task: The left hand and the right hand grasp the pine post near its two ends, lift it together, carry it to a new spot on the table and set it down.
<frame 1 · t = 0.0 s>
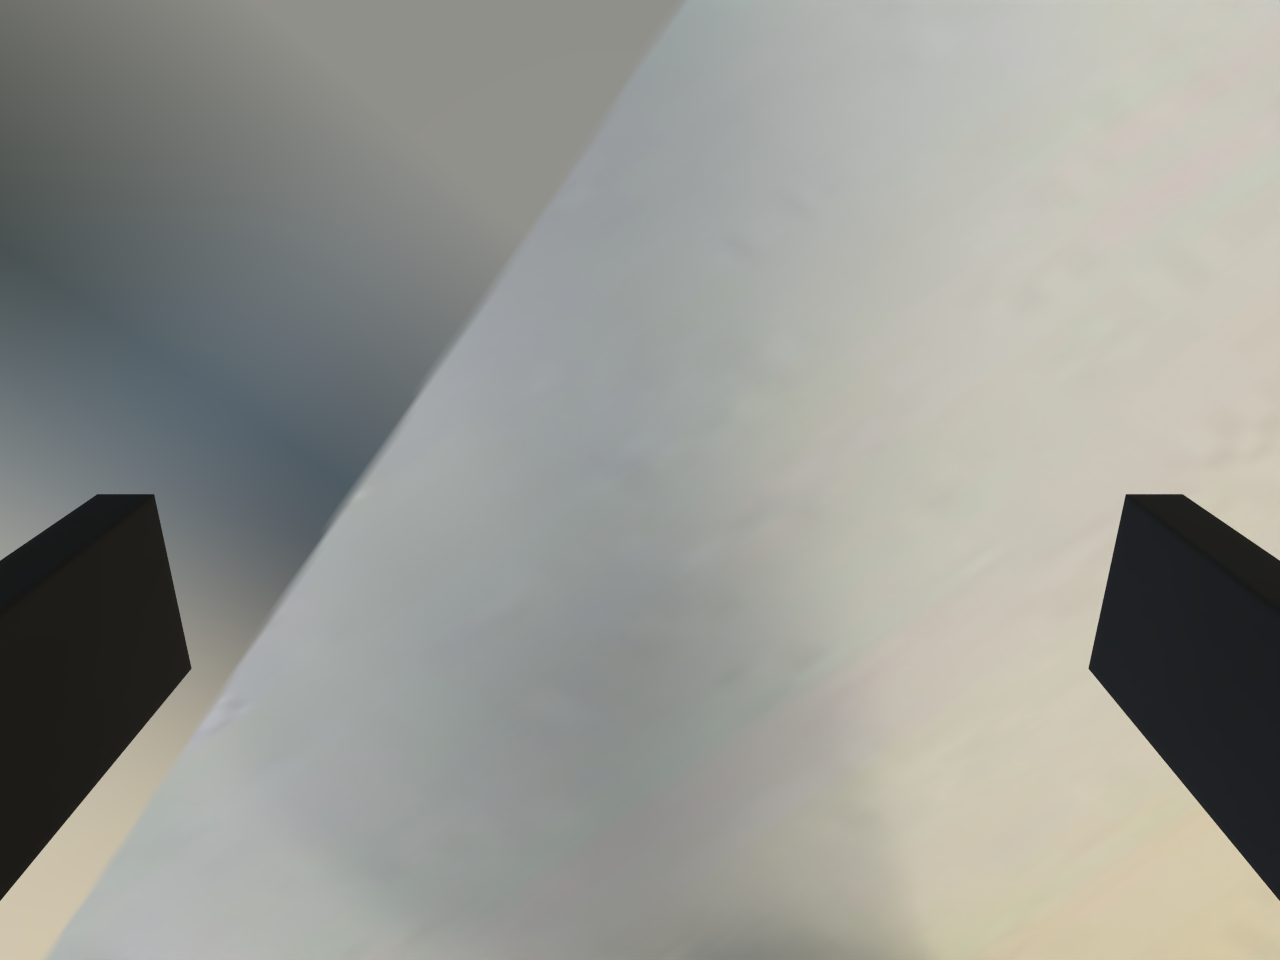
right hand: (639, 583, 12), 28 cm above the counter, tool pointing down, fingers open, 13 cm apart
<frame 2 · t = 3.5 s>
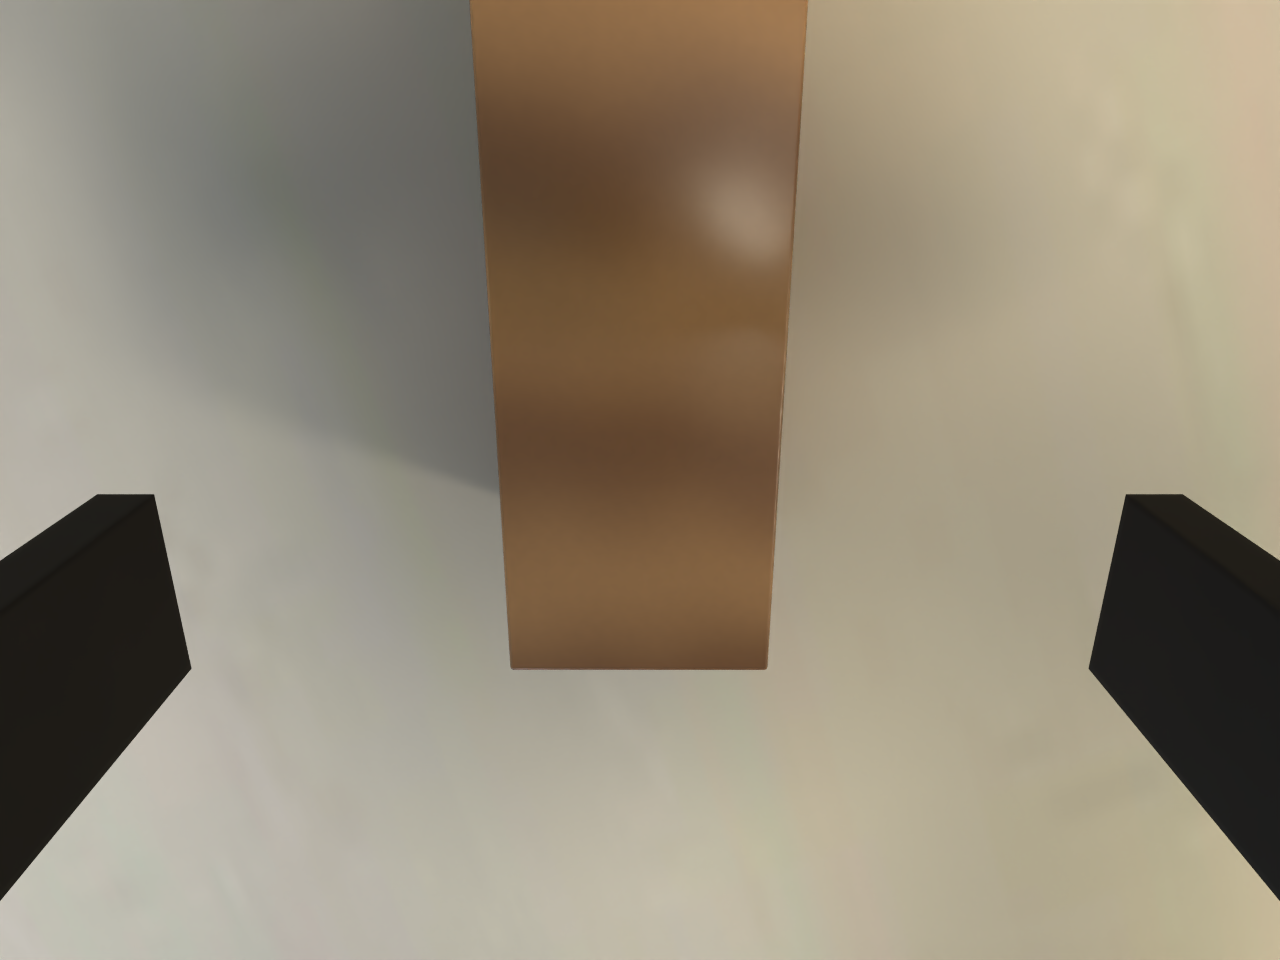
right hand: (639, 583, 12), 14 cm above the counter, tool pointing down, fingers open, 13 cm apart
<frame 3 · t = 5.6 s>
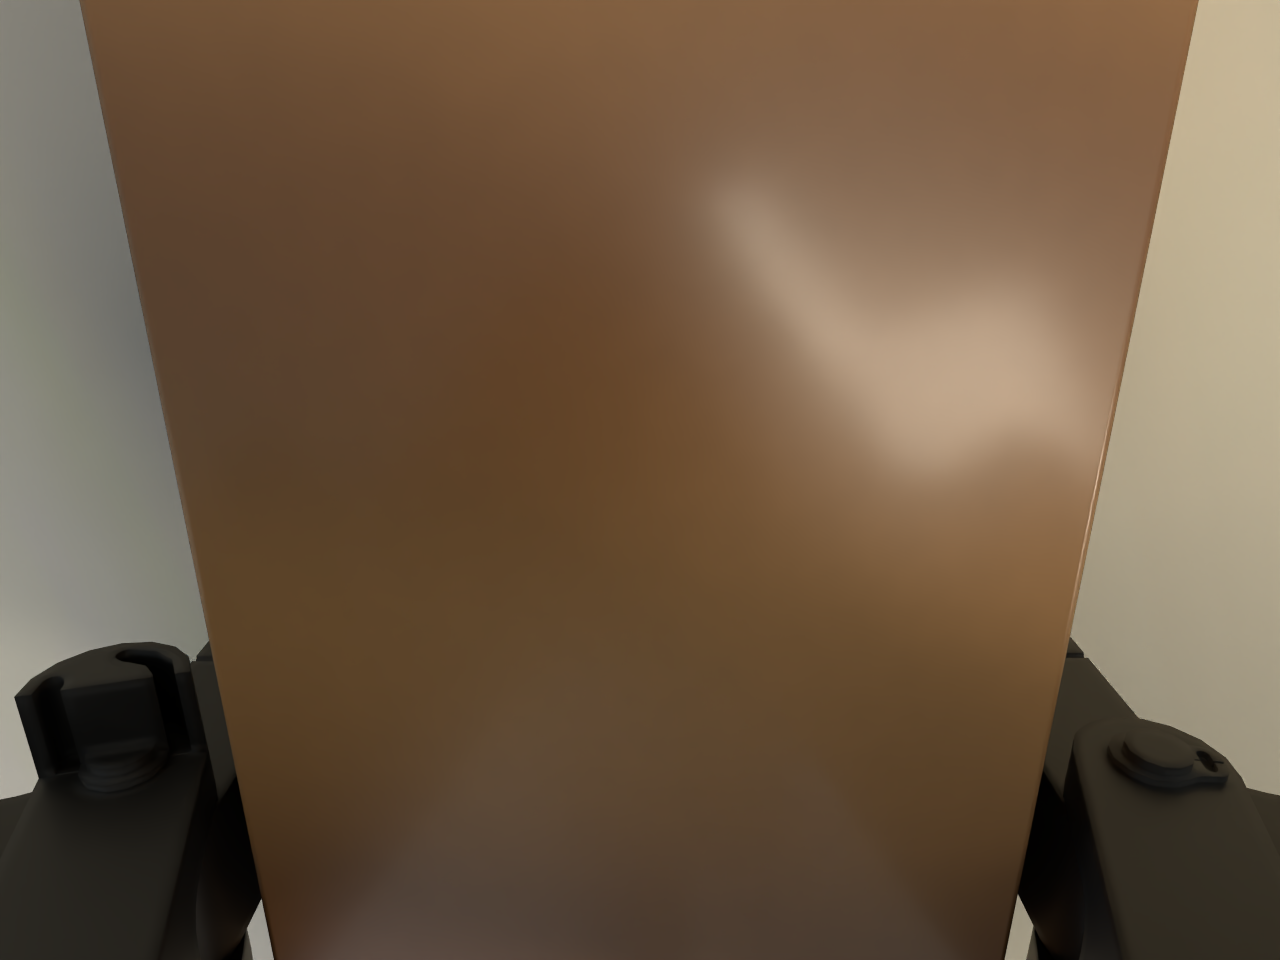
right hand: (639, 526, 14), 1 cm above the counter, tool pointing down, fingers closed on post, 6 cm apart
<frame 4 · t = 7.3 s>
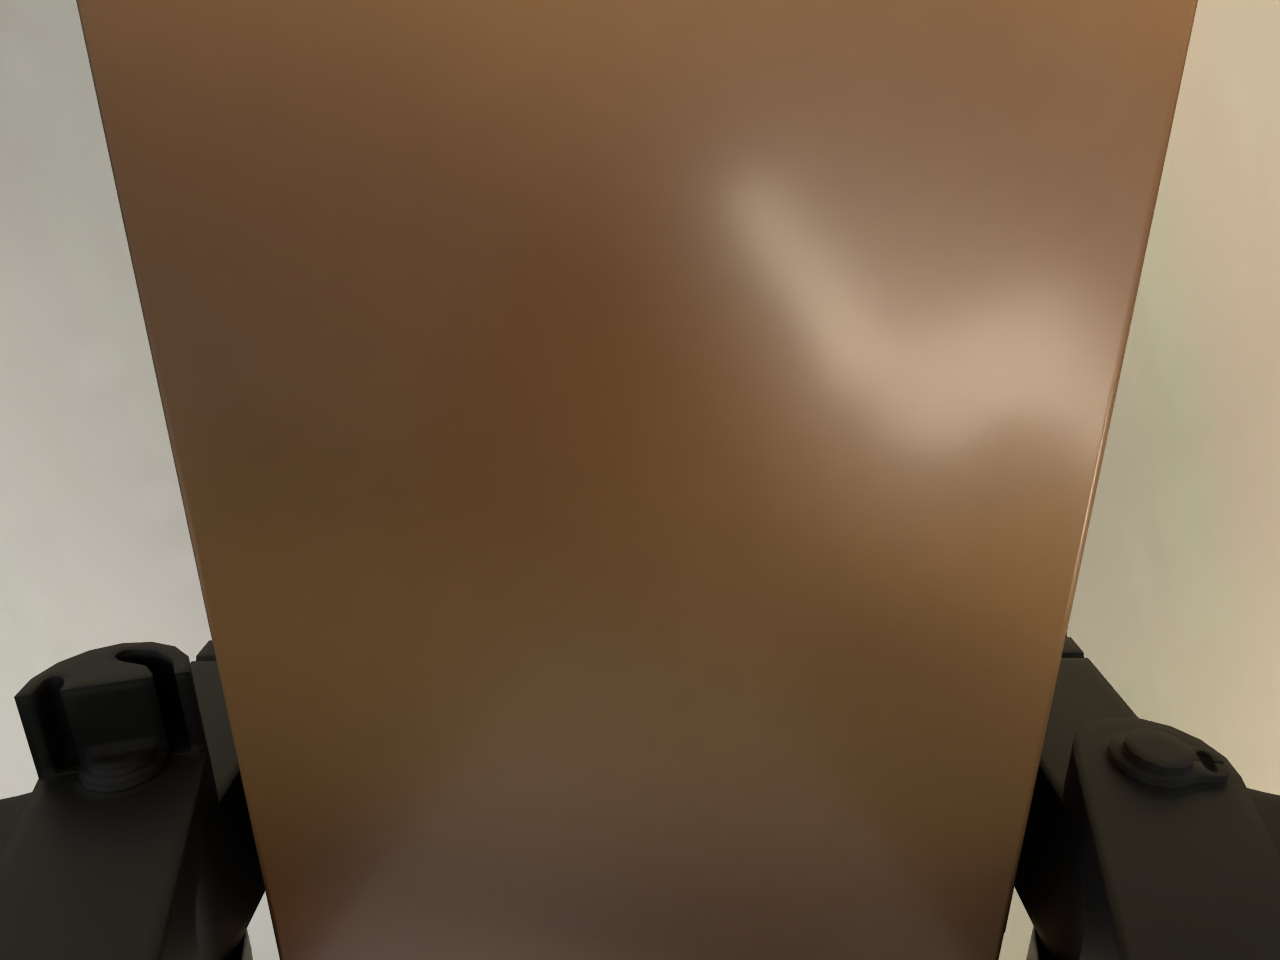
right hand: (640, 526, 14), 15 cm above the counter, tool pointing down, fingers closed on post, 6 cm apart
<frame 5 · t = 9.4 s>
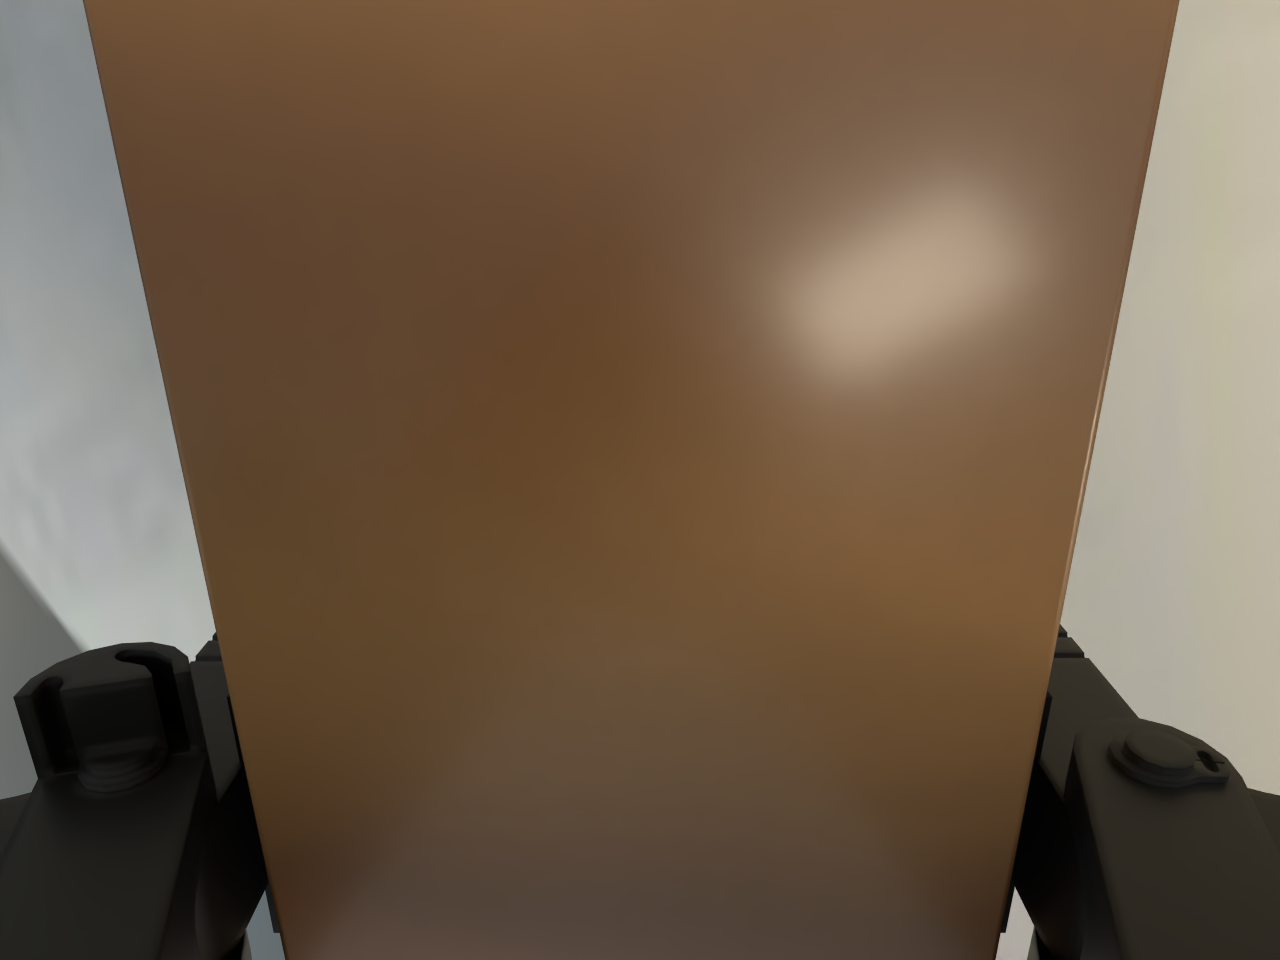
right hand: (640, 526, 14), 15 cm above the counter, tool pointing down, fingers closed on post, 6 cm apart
when the left hand's fingers open (2 cm above the counter, at t = 11.3 s): post drops 1 cm, on the counter.
when the right hand's fingers open (2 cm above the counter, at t = 11.3 s): post drops 1 cm, on the counter.
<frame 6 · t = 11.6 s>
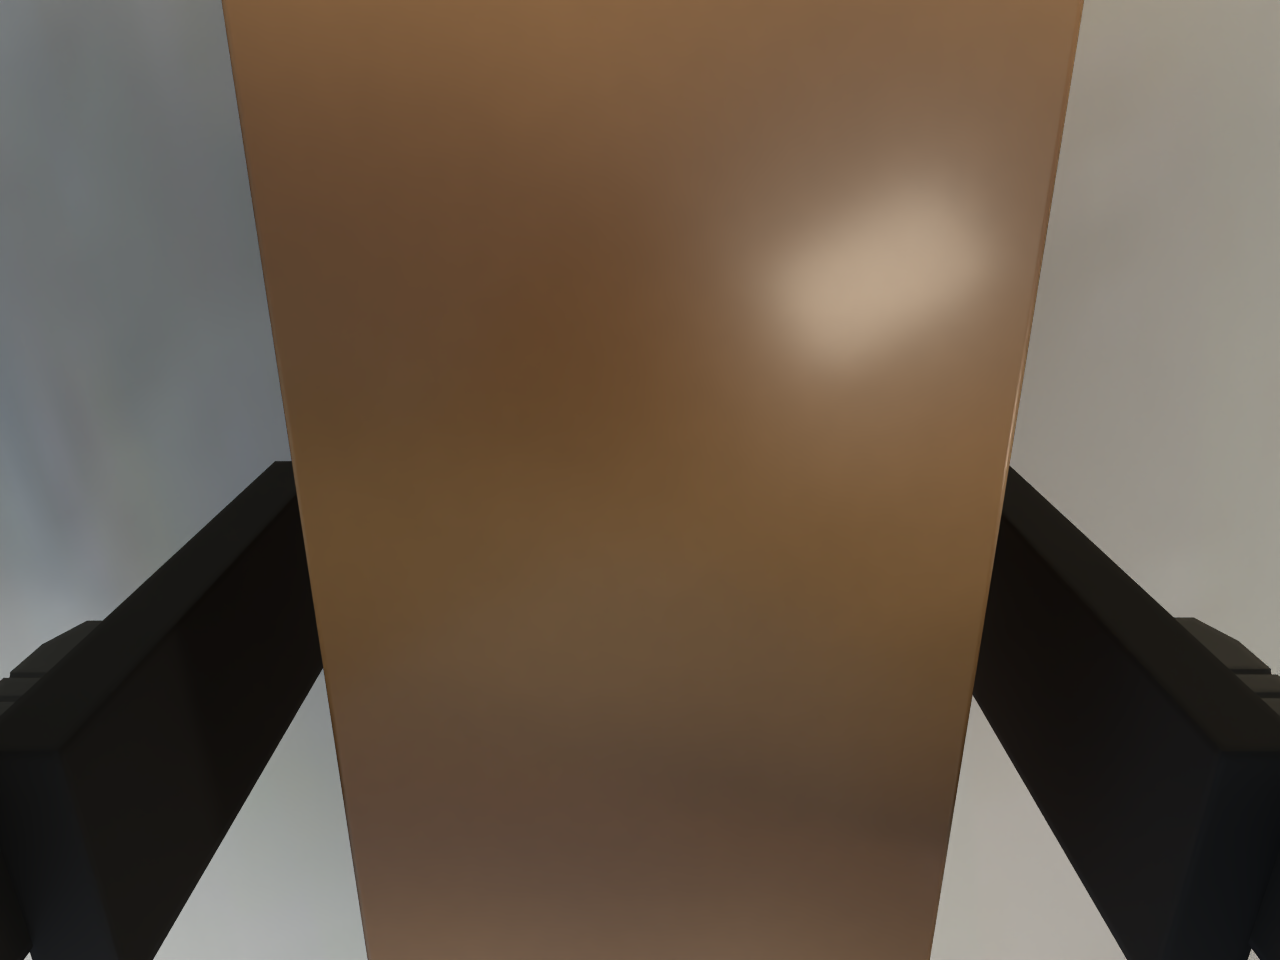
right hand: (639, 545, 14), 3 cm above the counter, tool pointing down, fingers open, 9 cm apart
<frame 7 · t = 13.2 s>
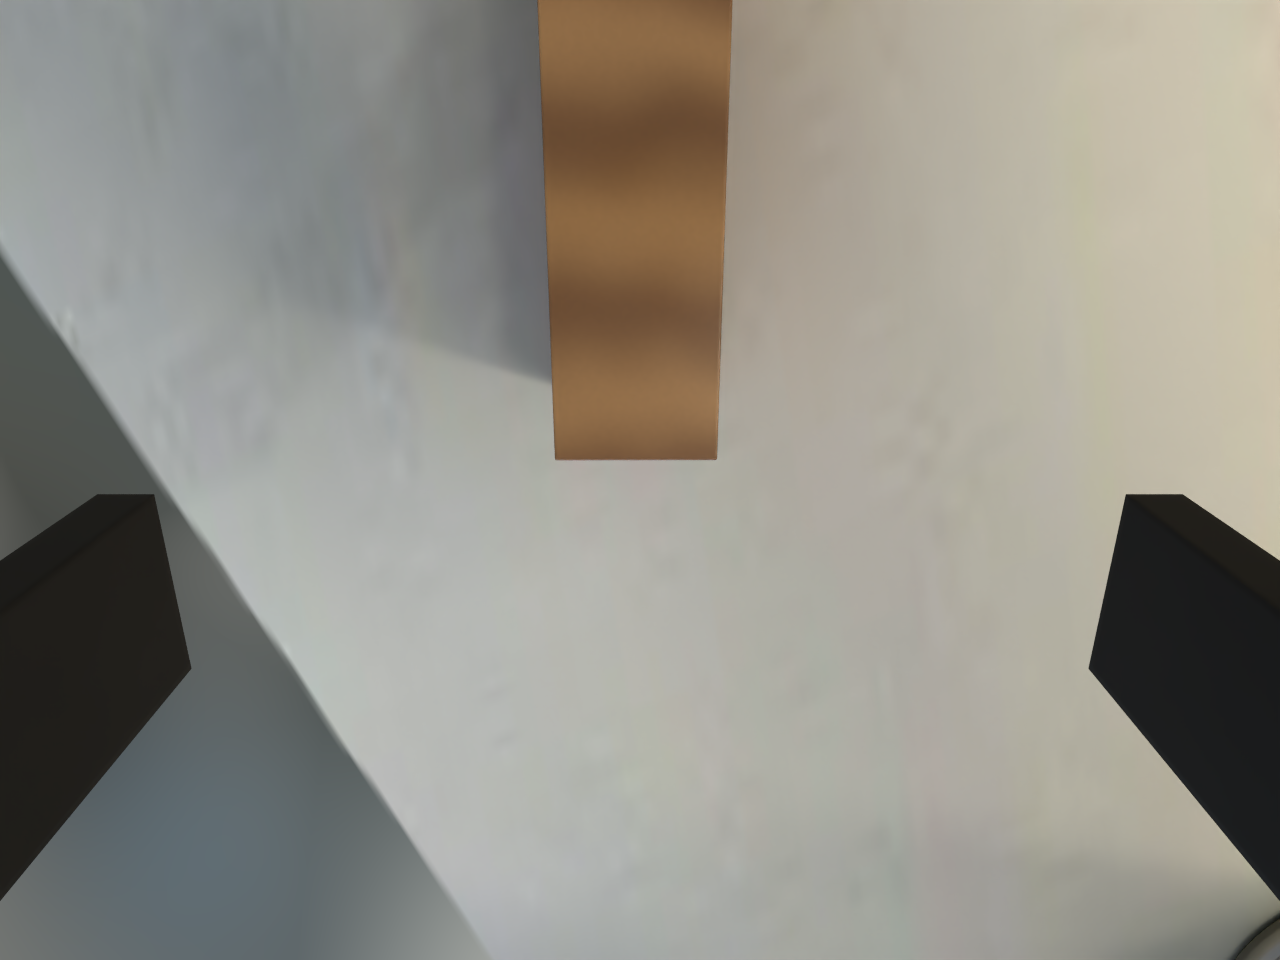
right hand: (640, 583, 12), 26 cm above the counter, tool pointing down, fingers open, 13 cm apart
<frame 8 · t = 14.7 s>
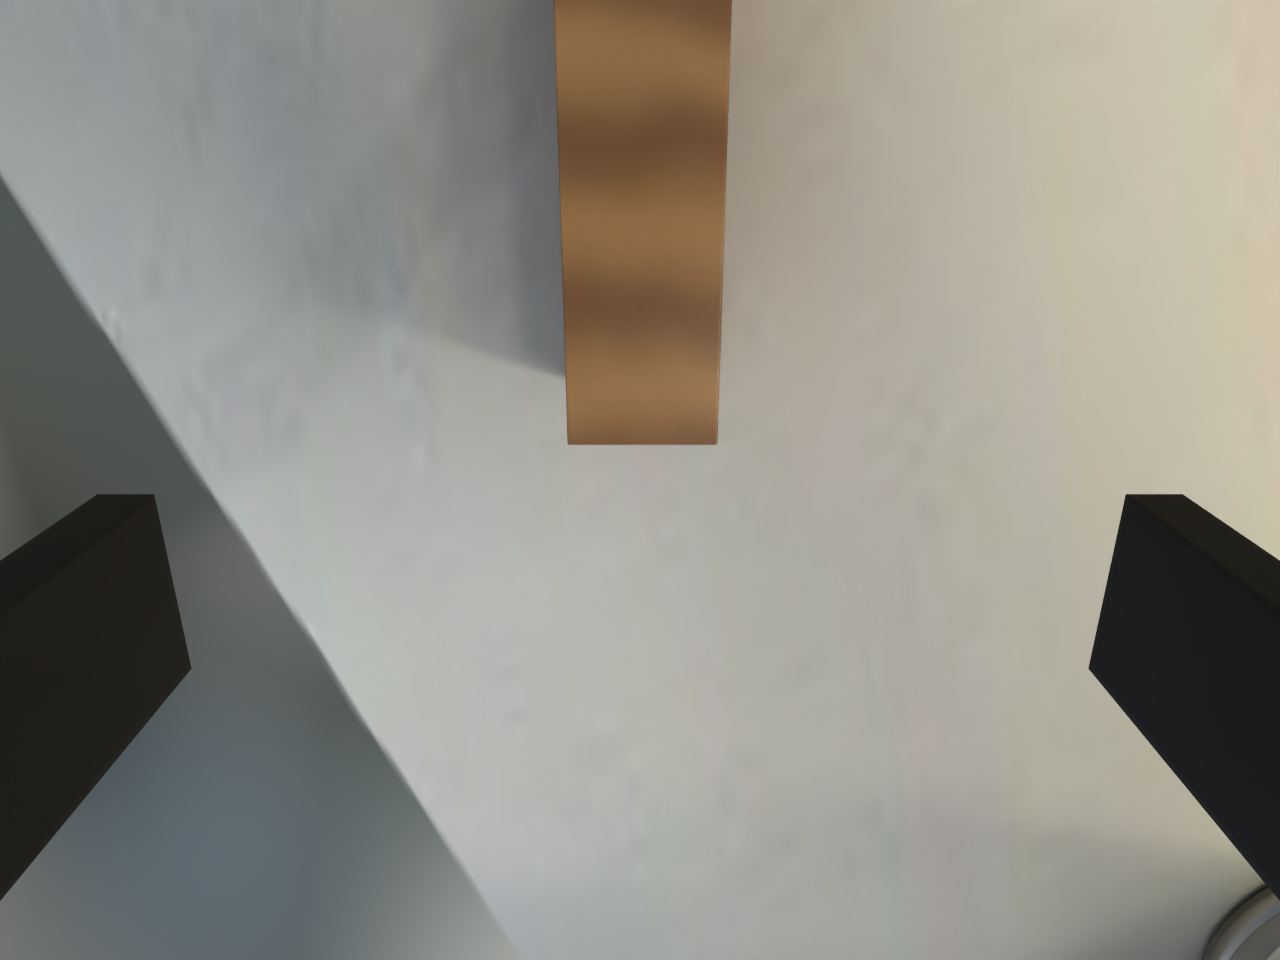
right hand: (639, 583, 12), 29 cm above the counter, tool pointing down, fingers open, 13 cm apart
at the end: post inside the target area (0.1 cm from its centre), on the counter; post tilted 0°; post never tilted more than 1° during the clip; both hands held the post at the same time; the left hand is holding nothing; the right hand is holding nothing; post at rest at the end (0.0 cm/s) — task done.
